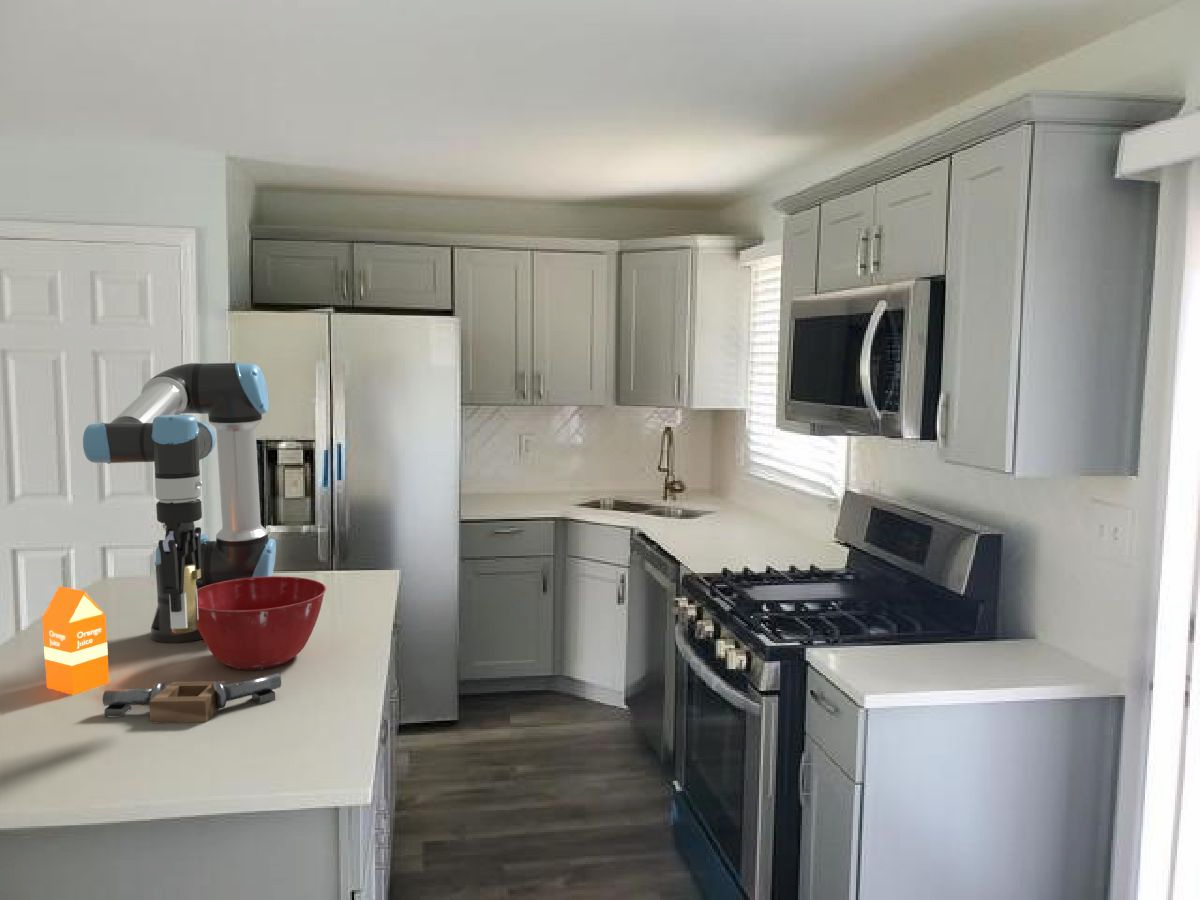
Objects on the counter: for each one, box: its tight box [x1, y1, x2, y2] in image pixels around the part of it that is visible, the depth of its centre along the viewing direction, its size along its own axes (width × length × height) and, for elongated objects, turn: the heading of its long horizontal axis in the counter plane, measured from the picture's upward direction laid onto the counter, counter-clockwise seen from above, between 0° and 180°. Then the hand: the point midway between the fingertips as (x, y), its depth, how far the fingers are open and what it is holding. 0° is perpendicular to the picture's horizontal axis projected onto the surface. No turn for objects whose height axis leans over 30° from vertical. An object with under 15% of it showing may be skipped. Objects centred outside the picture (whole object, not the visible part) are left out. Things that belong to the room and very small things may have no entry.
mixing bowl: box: [197, 575, 327, 671], centre depth 199 cm, size 28×28×16 cm
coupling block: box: [148, 680, 226, 724], centre depth 171 cm, size 10×10×4 cm
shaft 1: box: [102, 682, 167, 718], centre depth 170 cm, size 10×5×6 cm, turn 93°
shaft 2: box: [211, 672, 282, 710], centre depth 175 cm, size 12×5×6 cm, turn 133°
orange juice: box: [41, 586, 110, 696], centre depth 183 cm, size 8×9×20 cm
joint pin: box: [172, 564, 201, 633], centre depth 168 cm, size 4×6×12 cm
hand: (184, 623), depth 169 cm, fingers closed on joint pin, 4 cm apart
